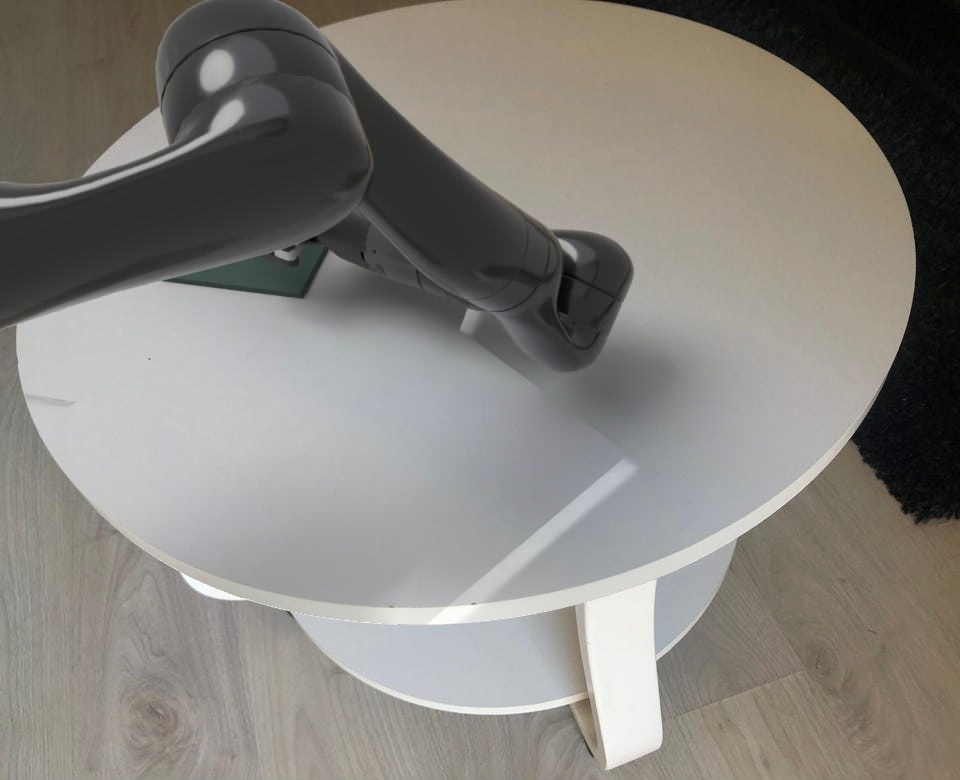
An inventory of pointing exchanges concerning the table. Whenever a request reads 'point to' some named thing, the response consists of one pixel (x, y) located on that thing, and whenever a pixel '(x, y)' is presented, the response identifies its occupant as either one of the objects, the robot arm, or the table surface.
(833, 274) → the table surface
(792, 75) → the table surface
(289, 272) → the mat
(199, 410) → the table surface
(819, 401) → the table surface
